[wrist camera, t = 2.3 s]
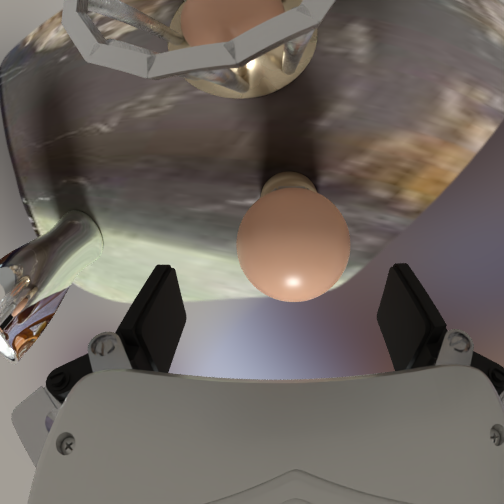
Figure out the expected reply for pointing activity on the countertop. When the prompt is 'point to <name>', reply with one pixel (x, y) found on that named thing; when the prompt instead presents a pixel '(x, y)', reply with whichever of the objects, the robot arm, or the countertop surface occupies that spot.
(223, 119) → the countertop surface
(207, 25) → the ball
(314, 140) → the countertop surface
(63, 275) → the beer glass
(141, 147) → the countertop surface
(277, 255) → the terracotta ball
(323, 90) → the countertop surface
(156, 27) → the cage tube
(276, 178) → the stand
